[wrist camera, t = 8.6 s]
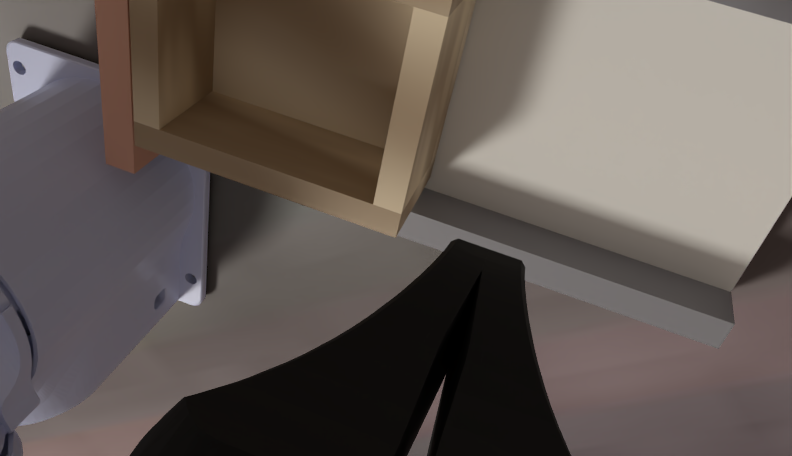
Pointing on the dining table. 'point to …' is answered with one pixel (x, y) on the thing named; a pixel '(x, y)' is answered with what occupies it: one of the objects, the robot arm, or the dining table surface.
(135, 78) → the crate
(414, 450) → the dining table surface
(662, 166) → the crate bay
